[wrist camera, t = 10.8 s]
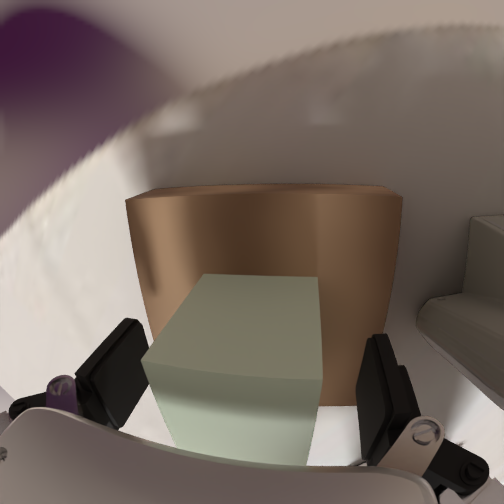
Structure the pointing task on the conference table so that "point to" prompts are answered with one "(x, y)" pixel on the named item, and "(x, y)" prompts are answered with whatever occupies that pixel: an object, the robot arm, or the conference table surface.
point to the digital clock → (474, 312)
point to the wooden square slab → (276, 255)
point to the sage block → (241, 368)
